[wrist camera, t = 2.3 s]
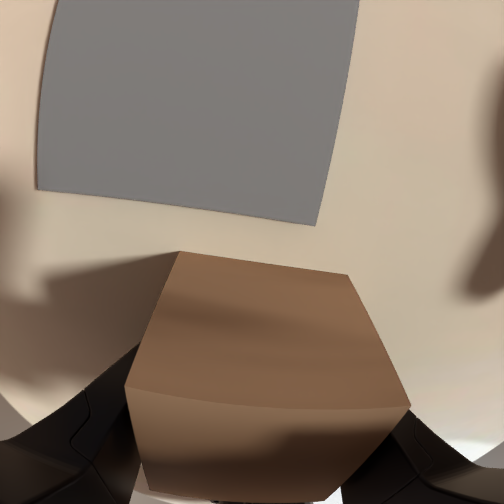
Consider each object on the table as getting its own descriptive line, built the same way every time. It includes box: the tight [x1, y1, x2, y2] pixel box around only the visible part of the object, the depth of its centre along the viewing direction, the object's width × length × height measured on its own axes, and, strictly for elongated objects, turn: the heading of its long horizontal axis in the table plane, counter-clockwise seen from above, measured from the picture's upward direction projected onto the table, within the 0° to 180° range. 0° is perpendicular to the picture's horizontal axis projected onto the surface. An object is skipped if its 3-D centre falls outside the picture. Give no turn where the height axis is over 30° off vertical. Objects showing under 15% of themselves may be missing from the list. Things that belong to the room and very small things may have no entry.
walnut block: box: [124, 251, 411, 503], centre depth 8 cm, size 5×5×5 cm
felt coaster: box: [37, 0, 359, 226], centre depth 6 cm, size 8×8×1 cm
